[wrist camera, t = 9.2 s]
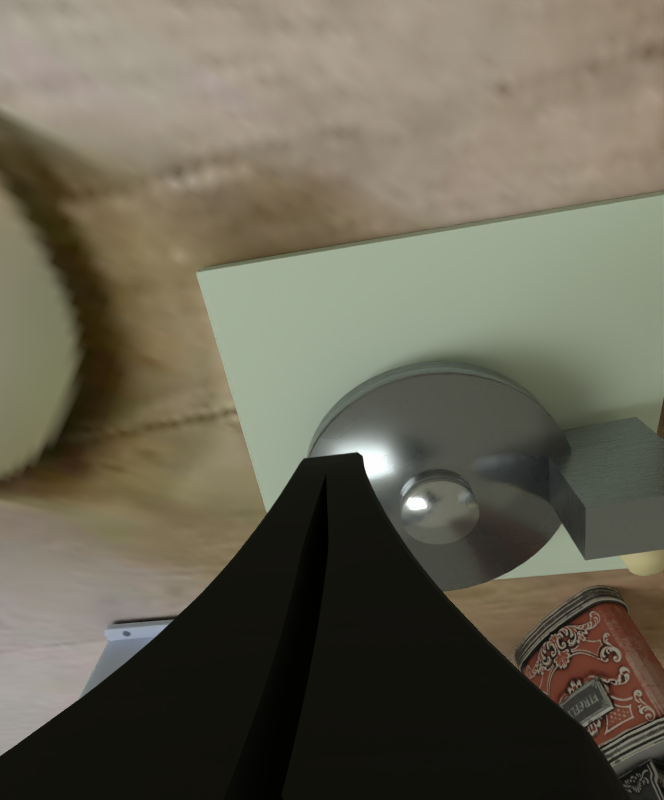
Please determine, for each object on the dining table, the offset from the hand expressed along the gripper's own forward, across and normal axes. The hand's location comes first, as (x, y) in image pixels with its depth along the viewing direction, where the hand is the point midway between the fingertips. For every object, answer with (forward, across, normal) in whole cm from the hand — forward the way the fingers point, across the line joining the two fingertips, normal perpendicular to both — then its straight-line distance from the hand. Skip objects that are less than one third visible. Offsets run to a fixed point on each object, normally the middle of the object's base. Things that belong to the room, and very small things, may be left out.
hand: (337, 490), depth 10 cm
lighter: (+10, -11, +20) cm, 25 cm away
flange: (+8, -4, +6) cm, 11 cm away
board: (+10, -4, +5) cm, 12 cm away
